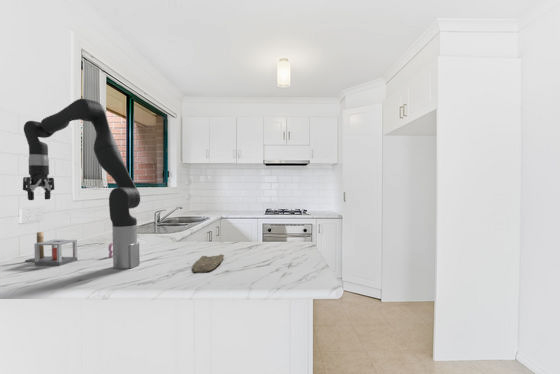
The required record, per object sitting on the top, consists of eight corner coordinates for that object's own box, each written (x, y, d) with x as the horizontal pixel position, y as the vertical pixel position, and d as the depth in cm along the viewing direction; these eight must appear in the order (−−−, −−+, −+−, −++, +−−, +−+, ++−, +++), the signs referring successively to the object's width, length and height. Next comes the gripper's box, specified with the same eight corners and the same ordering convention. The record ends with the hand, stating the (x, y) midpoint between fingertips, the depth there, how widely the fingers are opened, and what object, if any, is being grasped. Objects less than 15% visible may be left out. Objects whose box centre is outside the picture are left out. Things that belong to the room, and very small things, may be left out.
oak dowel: (45, 257, 150) (44, 232, 150) (40, 258, 147) (40, 232, 147) (40, 257, 150) (39, 232, 150) (35, 258, 148) (35, 233, 148)
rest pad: (55, 258, 152) (55, 256, 152) (40, 262, 144) (40, 260, 144) (40, 257, 153) (40, 256, 153) (25, 261, 145) (25, 260, 145)
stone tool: (200, 259, 147) (187, 274, 122) (200, 253, 147) (187, 267, 122) (224, 258, 148) (216, 273, 123) (224, 252, 148) (216, 266, 123)
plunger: (62, 261, 144) (62, 247, 144) (56, 263, 141) (56, 248, 141) (56, 261, 145) (56, 247, 145) (50, 263, 142) (50, 248, 142)
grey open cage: (77, 260, 147) (76, 239, 147) (59, 265, 137) (59, 243, 137) (54, 259, 149) (53, 239, 149) (34, 265, 139) (34, 243, 139)
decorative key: (133, 255, 170) (110, 257, 150) (131, 255, 170) (107, 257, 150) (134, 242, 171) (111, 243, 151) (132, 242, 171) (108, 243, 151)
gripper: (32, 163, 141) (32, 200, 141) (58, 165, 155) (59, 199, 155) (17, 164, 142) (17, 200, 142) (44, 166, 156) (45, 199, 156)
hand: (39, 199), depth 148 cm, fingers open, 8 cm apart
